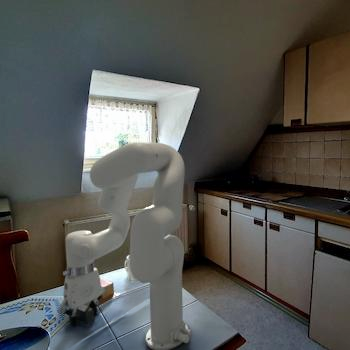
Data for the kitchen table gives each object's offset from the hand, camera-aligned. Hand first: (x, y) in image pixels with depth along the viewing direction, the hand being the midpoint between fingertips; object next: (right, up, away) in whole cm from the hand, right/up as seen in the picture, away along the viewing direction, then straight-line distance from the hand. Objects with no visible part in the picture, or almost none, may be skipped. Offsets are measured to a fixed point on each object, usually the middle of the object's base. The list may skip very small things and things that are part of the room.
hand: (84, 319), depth 87 cm
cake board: (-4, 0, +13) cm, 14 cm away
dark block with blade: (-4, -1, +2) cm, 4 cm away
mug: (+4, +2, +31) cm, 31 cm away
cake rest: (-4, +2, +16) cm, 17 cm away
